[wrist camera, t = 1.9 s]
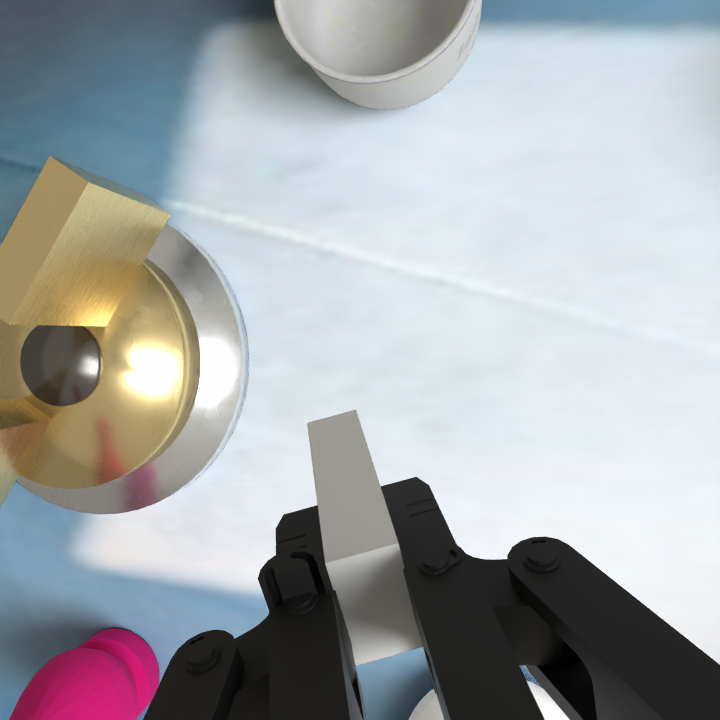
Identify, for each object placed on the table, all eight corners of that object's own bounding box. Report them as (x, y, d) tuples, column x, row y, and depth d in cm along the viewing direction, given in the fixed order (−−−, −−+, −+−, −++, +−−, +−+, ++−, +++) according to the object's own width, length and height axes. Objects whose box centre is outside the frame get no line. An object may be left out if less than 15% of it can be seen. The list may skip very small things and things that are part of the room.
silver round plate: (-47, 239, 44) (-67, 235, 43) (221, 178, 40) (210, 172, 39) (2, 522, 45) (-16, 530, 43) (272, 489, 41) (264, 496, 39)
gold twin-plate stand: (-46, 248, 42) (-215, 220, 32) (185, 196, 39) (82, 147, 29) (-1, 511, 42) (-153, 568, 32) (233, 481, 39) (148, 534, 29)
